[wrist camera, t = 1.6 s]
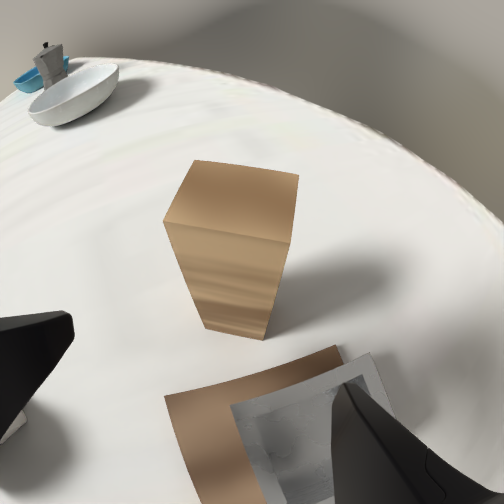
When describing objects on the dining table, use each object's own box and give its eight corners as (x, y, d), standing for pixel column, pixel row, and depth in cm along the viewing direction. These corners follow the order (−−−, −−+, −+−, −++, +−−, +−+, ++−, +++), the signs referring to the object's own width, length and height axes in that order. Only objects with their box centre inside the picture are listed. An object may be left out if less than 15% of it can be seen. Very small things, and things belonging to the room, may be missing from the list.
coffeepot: (70, 94, 48) (55, 38, 33) (41, 108, 46) (23, 55, 31) (77, 79, 56) (66, 31, 41) (51, 91, 53) (38, 45, 38)
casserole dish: (79, 68, 65) (75, 53, 59) (29, 99, 55) (23, 83, 49) (52, 69, 75) (49, 58, 69) (14, 94, 65) (9, 82, 59)
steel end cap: (379, 458, 14) (411, 465, 10) (270, 505, 12) (278, 529, 8) (344, 365, 18) (369, 352, 14) (232, 405, 16) (229, 405, 12)
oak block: (262, 340, 20) (290, 243, 9) (205, 328, 20) (162, 220, 9) (270, 299, 22) (298, 174, 11) (216, 288, 22) (194, 159, 11)
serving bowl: (25, 136, 38) (14, 113, 33) (88, 88, 49) (82, 66, 43) (67, 144, 34) (54, 112, 29) (144, 88, 45) (139, 60, 39)
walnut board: (384, 489, 12) (390, 491, 12) (226, 546, 10) (226, 551, 9) (331, 347, 20) (335, 344, 19) (167, 396, 17) (163, 395, 16)
